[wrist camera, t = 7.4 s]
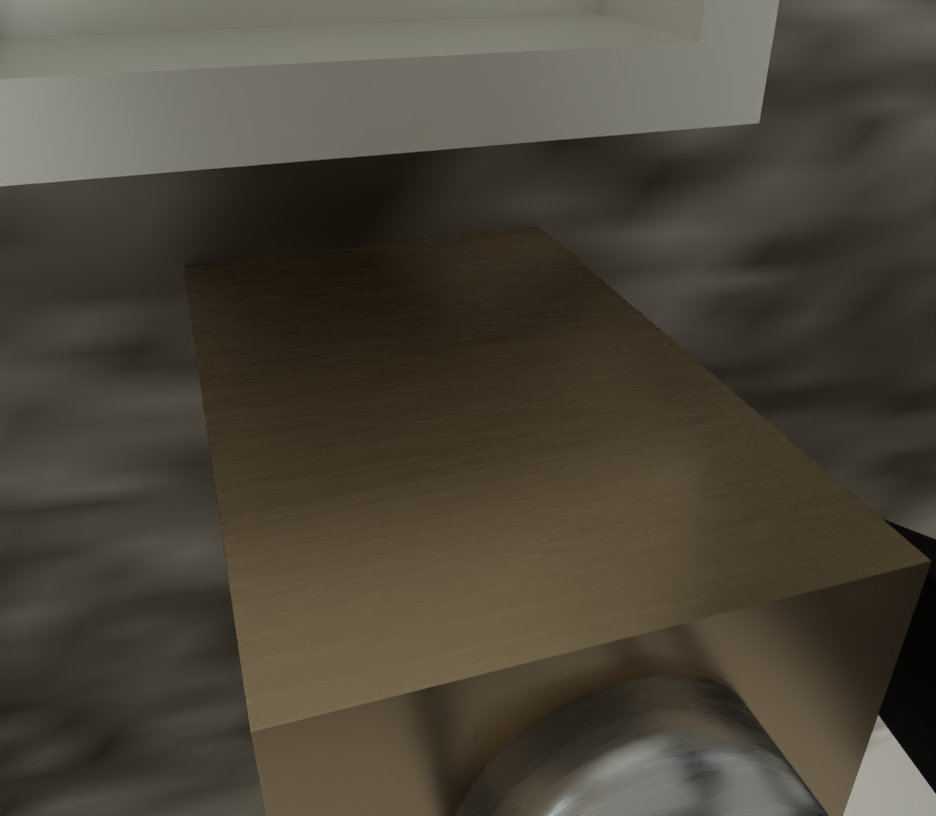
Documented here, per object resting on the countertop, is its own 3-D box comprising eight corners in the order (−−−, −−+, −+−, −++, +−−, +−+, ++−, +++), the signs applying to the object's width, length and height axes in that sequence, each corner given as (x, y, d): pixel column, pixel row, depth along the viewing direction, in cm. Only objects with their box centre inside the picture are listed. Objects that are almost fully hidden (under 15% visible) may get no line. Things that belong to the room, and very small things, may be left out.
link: (183, 263, 8) (278, 916, 3) (536, 224, 9) (1060, 672, 4) (268, 761, 12) (376, 1447, 7) (515, 697, 13) (779, 1254, 8)
